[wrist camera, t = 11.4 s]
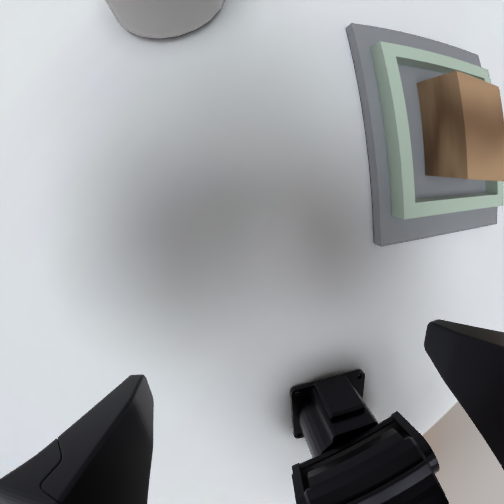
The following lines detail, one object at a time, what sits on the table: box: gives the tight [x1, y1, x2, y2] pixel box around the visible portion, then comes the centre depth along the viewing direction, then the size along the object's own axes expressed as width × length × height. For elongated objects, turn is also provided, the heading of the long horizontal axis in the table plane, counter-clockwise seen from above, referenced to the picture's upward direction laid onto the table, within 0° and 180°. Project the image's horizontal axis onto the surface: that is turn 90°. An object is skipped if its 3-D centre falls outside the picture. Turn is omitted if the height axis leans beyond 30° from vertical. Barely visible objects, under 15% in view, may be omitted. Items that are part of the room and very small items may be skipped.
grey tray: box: [346, 23, 504, 246], centre depth 18 cm, size 16×14×2 cm
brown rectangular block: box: [417, 71, 504, 181], centre depth 16 cm, size 7×5×4 cm
